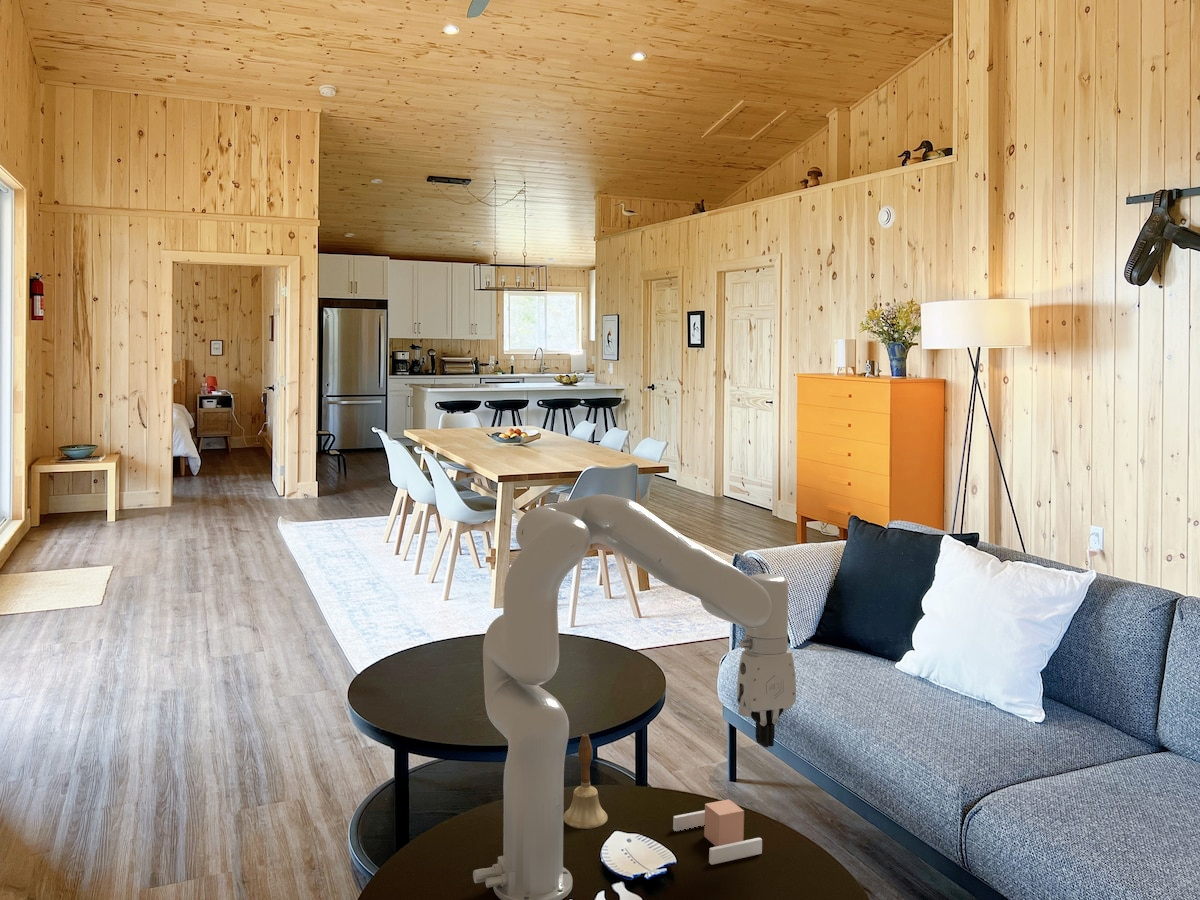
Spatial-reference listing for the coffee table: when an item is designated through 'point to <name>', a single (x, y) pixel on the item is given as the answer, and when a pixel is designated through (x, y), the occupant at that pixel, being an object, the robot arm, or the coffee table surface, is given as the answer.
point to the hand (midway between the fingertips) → (764, 744)
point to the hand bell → (585, 794)
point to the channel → (723, 851)
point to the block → (723, 822)
